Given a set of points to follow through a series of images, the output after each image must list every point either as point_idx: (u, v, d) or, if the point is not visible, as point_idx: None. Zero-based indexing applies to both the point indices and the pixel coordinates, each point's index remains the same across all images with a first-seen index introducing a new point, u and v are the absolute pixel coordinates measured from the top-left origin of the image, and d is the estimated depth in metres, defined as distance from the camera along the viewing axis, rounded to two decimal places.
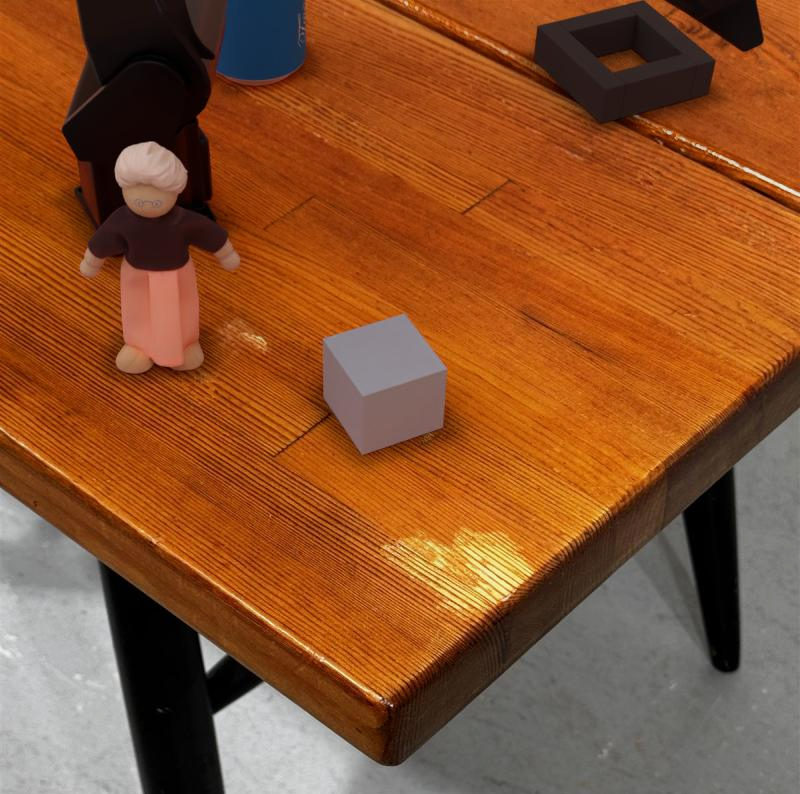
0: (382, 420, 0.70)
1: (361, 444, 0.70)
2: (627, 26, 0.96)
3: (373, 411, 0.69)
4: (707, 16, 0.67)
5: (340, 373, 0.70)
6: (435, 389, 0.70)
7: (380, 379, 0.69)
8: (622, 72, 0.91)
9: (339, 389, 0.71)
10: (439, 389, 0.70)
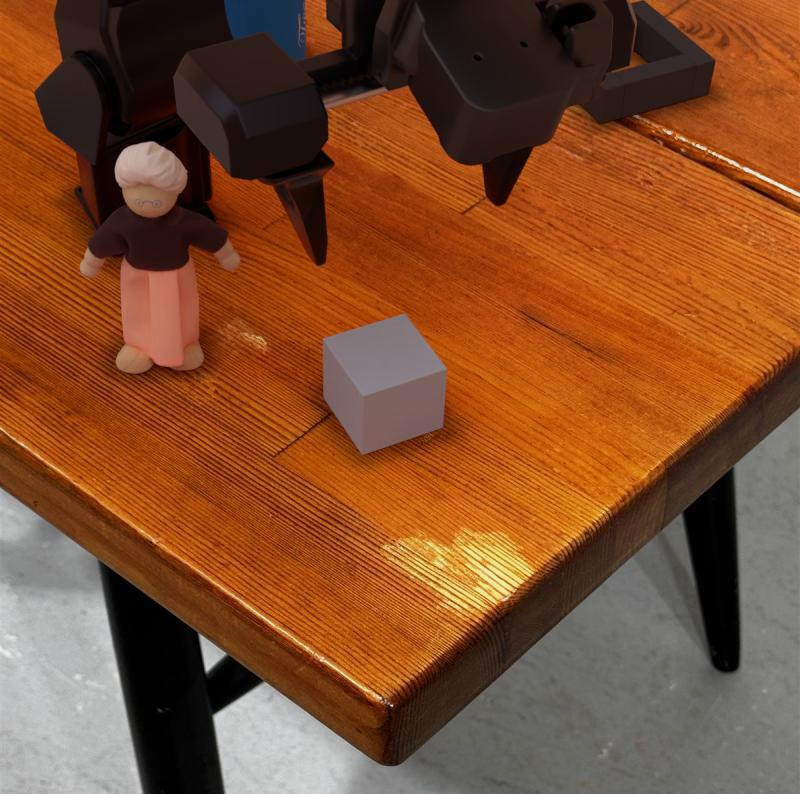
0: (382, 420, 0.70)
1: (361, 444, 0.70)
2: None
3: (373, 411, 0.69)
4: (278, 192, 0.61)
5: (340, 373, 0.70)
6: (435, 389, 0.70)
7: (380, 379, 0.69)
8: (622, 72, 0.91)
9: (339, 389, 0.71)
10: (439, 389, 0.70)
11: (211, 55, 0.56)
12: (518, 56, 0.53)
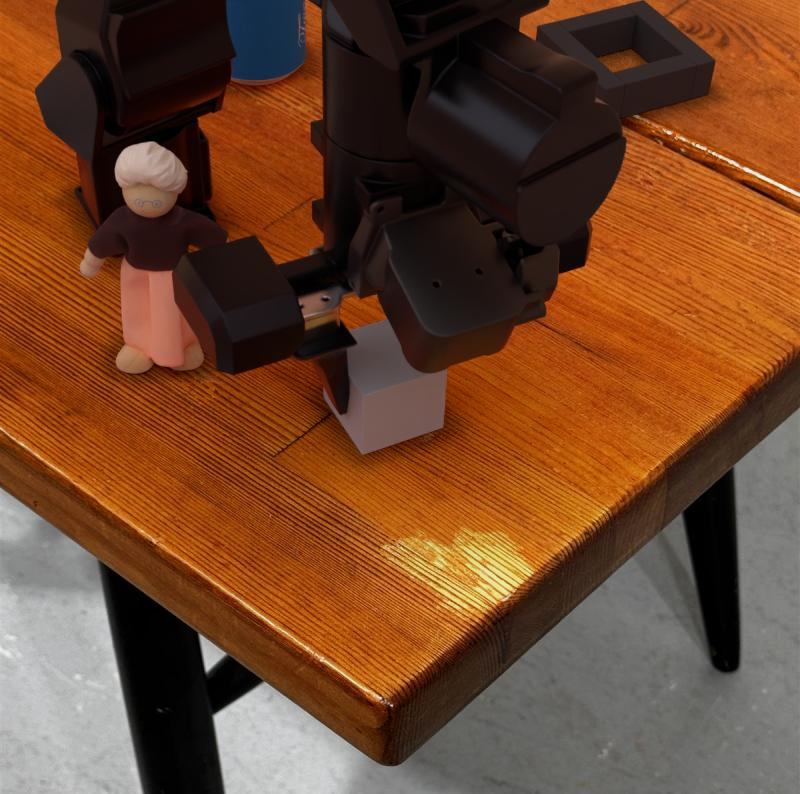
0: (382, 420, 0.70)
1: (361, 444, 0.70)
2: (627, 26, 0.96)
3: (374, 411, 0.69)
4: None
5: None
6: (435, 389, 0.70)
7: (381, 379, 0.69)
8: (622, 72, 0.91)
9: None
10: (439, 389, 0.70)
11: (204, 259, 0.63)
12: (473, 283, 0.59)
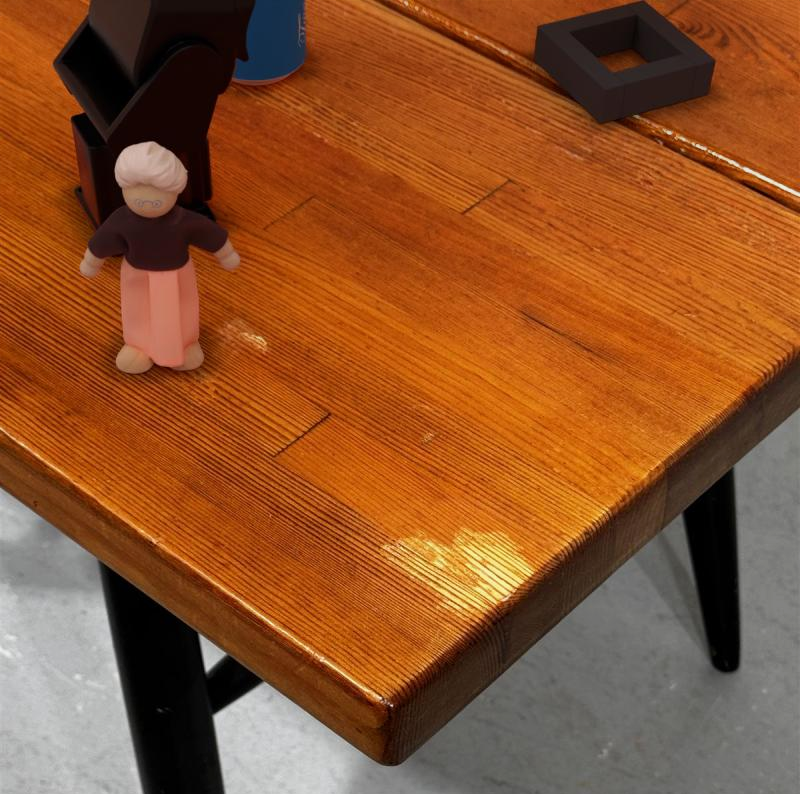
0: None
1: None
2: (627, 26, 0.96)
3: None
4: None
5: None
6: None
7: None
8: (622, 72, 0.91)
9: None
10: None
11: None
12: None
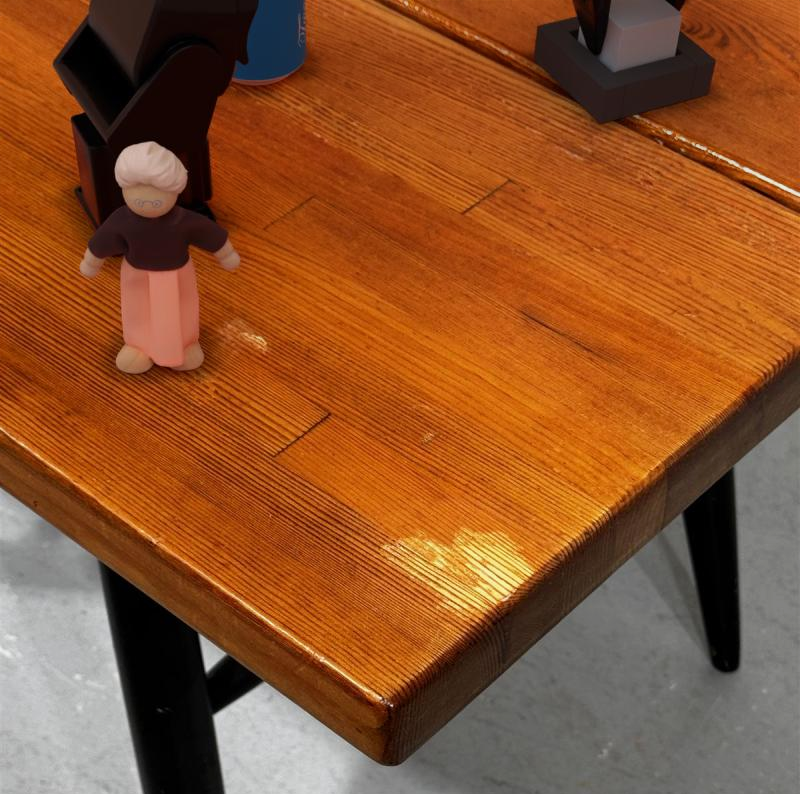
0: (631, 55, 0.91)
1: None
2: None
3: (627, 45, 0.90)
4: (574, 1, 0.90)
5: None
6: (671, 32, 0.91)
7: (633, 20, 0.90)
8: (622, 72, 0.91)
9: None
10: (674, 33, 0.91)
11: None
12: None
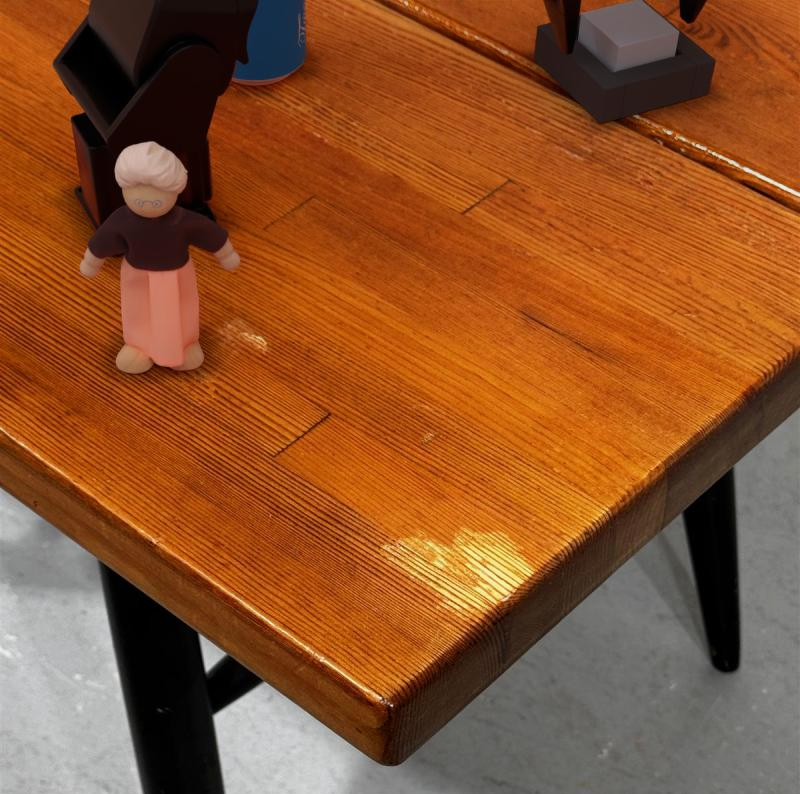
0: None
1: None
2: None
3: (624, 62, 0.91)
4: None
5: (597, 36, 0.92)
6: (668, 49, 0.92)
7: (630, 37, 0.91)
8: (622, 72, 0.91)
9: (593, 52, 0.93)
10: (671, 50, 0.92)
11: None
12: None
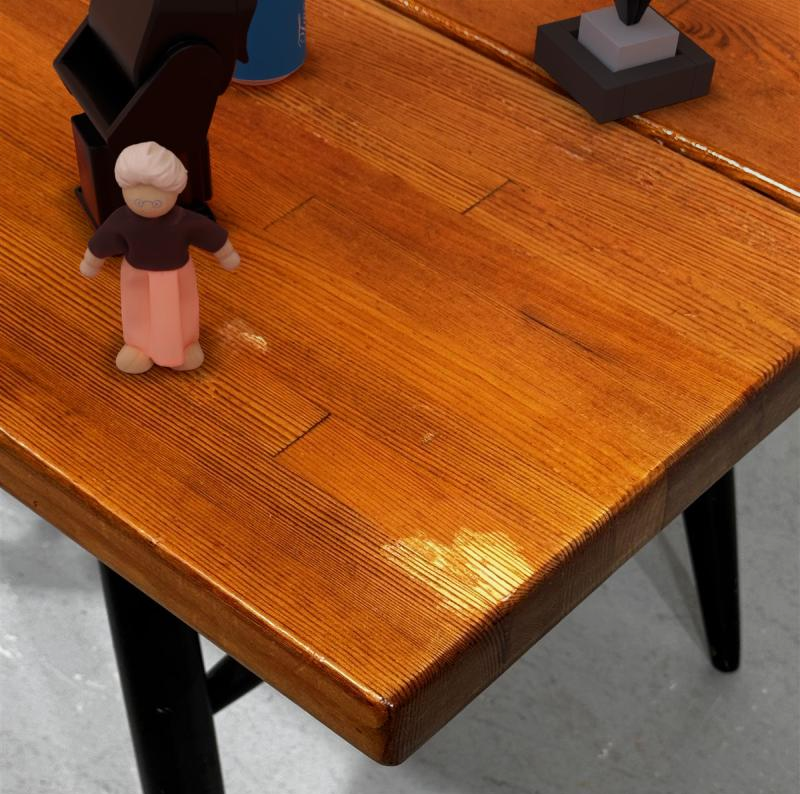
0: None
1: None
2: None
3: (624, 63, 0.91)
4: None
5: (597, 37, 0.92)
6: (668, 50, 0.92)
7: (630, 38, 0.91)
8: (622, 72, 0.91)
9: (593, 52, 0.93)
10: (671, 50, 0.92)
11: None
12: None
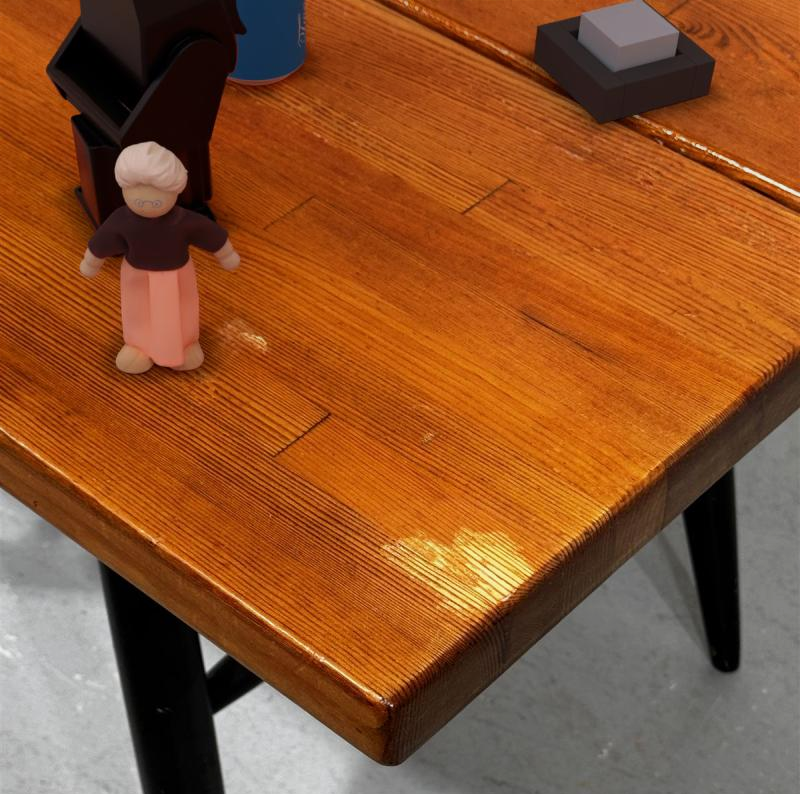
0: None
1: None
2: None
3: (624, 62, 0.91)
4: None
5: (597, 36, 0.92)
6: (668, 49, 0.92)
7: (630, 37, 0.91)
8: (622, 72, 0.91)
9: (593, 52, 0.93)
10: (671, 50, 0.92)
11: None
12: None
